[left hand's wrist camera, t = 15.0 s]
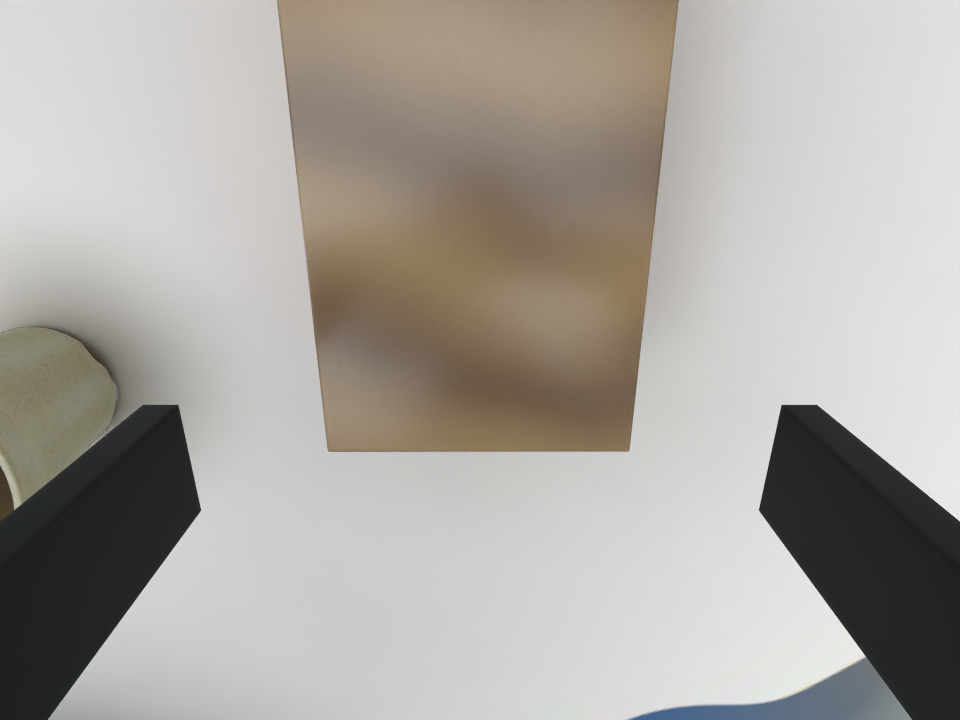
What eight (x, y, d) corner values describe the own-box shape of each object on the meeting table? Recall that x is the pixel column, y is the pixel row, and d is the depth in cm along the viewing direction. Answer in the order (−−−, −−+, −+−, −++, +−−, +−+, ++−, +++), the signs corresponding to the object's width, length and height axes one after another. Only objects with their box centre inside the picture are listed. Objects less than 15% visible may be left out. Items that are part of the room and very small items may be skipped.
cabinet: (336, -147, 21) (237, -340, 12) (620, -148, 21) (716, -340, 12) (373, 354, 28) (327, 452, 19) (584, 355, 28) (629, 452, 19)
